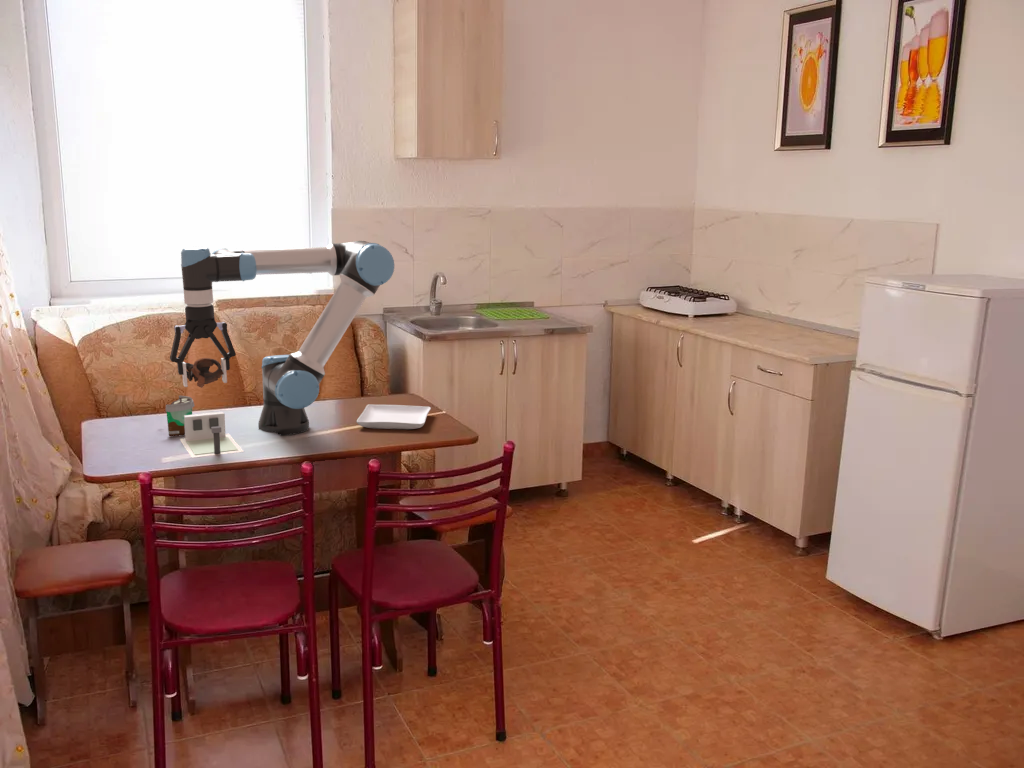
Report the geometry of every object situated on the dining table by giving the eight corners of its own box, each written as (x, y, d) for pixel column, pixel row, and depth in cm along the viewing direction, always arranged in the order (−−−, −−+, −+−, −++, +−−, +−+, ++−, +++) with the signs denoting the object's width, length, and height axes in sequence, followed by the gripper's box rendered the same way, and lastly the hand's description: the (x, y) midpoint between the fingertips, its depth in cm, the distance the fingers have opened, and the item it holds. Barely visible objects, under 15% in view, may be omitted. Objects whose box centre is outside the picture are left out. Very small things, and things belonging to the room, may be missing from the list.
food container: (188, 438, 275) (186, 405, 273) (167, 437, 275) (165, 405, 272) (201, 427, 287) (199, 395, 285) (181, 426, 287) (179, 395, 284)
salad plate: (424, 433, 287) (424, 422, 286) (355, 431, 287) (355, 420, 287) (431, 415, 308) (431, 405, 307) (367, 414, 308) (367, 403, 307)
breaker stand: (228, 436, 277) (227, 410, 275) (244, 455, 260) (242, 427, 258) (179, 442, 271) (178, 415, 269) (191, 461, 254) (190, 432, 252)
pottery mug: (225, 380, 267) (227, 359, 262) (216, 402, 260) (218, 380, 255) (183, 370, 265) (184, 348, 260) (172, 392, 258) (174, 370, 253)
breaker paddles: (218, 427, 272) (217, 417, 272) (218, 428, 272) (218, 418, 271) (193, 430, 269) (192, 419, 268) (193, 430, 268) (193, 420, 268)
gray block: (221, 452, 259) (220, 426, 257) (222, 453, 257) (221, 427, 256) (212, 453, 258) (211, 426, 256) (213, 454, 256) (212, 428, 254)
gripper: (238, 300, 263) (243, 376, 268) (153, 305, 253) (160, 385, 258) (244, 303, 257) (249, 382, 262) (157, 309, 246) (164, 391, 251)
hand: (205, 383), depth 260 cm, fingers closed on pottery mug, 10 cm apart
